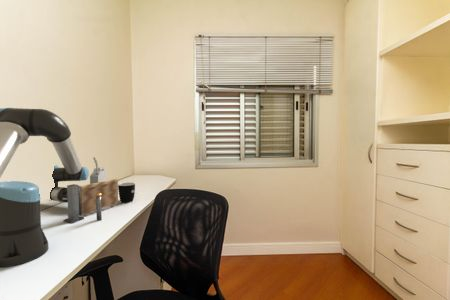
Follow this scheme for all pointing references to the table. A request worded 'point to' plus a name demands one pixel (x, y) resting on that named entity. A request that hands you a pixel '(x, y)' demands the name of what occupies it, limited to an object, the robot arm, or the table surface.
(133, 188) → the mug
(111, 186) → the panel
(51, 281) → the table surface
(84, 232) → the table surface
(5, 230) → the robot arm
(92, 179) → the fuel canister
